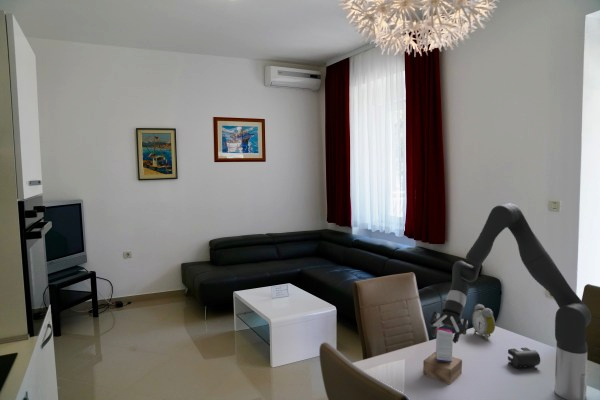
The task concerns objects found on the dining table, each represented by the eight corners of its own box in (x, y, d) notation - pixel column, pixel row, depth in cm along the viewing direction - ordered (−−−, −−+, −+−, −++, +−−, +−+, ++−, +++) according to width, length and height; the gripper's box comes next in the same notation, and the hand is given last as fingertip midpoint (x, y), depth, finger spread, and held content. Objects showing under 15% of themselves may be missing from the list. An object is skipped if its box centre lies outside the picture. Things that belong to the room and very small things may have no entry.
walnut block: (461, 374, 163) (462, 359, 162) (450, 384, 155) (450, 369, 154) (435, 365, 170) (435, 351, 170) (423, 375, 162) (423, 360, 162)
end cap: (518, 371, 164) (518, 355, 164) (506, 363, 171) (507, 347, 171) (540, 369, 166) (541, 353, 166) (527, 361, 173) (528, 345, 173)
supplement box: (452, 362, 158) (453, 332, 159) (436, 361, 160) (437, 331, 160) (450, 357, 164) (451, 329, 164) (435, 356, 165) (435, 327, 166)
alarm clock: (470, 332, 204) (471, 302, 203) (483, 331, 205) (483, 302, 204) (485, 341, 193) (486, 310, 192) (498, 340, 194) (499, 309, 193)
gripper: (435, 295, 173) (423, 330, 165) (470, 302, 163) (459, 339, 156) (440, 305, 177) (428, 339, 169) (474, 312, 168) (463, 348, 160)
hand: (443, 339), depth 162 cm, fingers open, 8 cm apart
